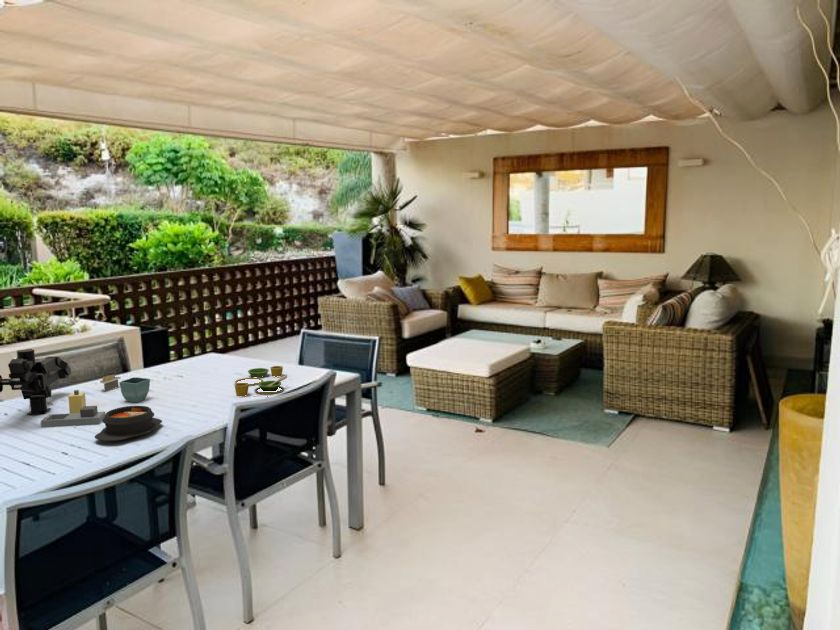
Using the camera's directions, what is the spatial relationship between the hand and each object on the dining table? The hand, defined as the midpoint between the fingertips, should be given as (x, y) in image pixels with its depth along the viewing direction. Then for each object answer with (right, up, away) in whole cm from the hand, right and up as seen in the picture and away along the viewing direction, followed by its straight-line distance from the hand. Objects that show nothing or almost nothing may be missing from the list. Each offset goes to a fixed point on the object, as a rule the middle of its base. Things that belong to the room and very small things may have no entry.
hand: (6, 389), depth 221 cm
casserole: (+43, -17, +3) cm, 46 cm away
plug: (+12, -13, +25) cm, 31 cm away
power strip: (+16, -14, +15) cm, 26 cm away
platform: (+7, -8, +61) cm, 62 cm away
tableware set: (+73, -7, +69) cm, 101 cm away
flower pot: (+26, -10, +43) cm, 52 cm away
